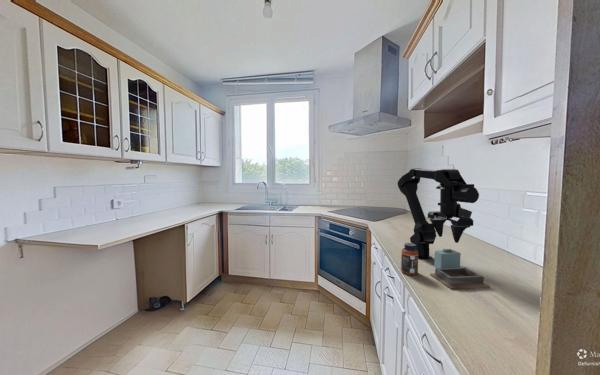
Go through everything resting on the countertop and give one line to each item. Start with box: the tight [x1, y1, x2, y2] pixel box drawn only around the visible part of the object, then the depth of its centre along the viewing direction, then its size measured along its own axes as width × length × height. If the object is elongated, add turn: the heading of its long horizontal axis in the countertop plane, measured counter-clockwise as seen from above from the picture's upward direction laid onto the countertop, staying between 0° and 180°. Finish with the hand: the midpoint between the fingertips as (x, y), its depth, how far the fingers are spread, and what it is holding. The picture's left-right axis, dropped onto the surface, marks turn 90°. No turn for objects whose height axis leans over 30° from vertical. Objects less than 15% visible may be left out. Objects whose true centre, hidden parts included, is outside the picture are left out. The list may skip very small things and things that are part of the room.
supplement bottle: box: [400, 242, 419, 276], centre depth 91 cm, size 6×6×11 cm
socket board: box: [429, 267, 491, 290], centre depth 84 cm, size 11×14×3 cm
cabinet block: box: [433, 248, 461, 269], centre depth 95 cm, size 4×8×8 cm, turn 95°
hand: (448, 239), depth 94 cm, fingers open, 9 cm apart
